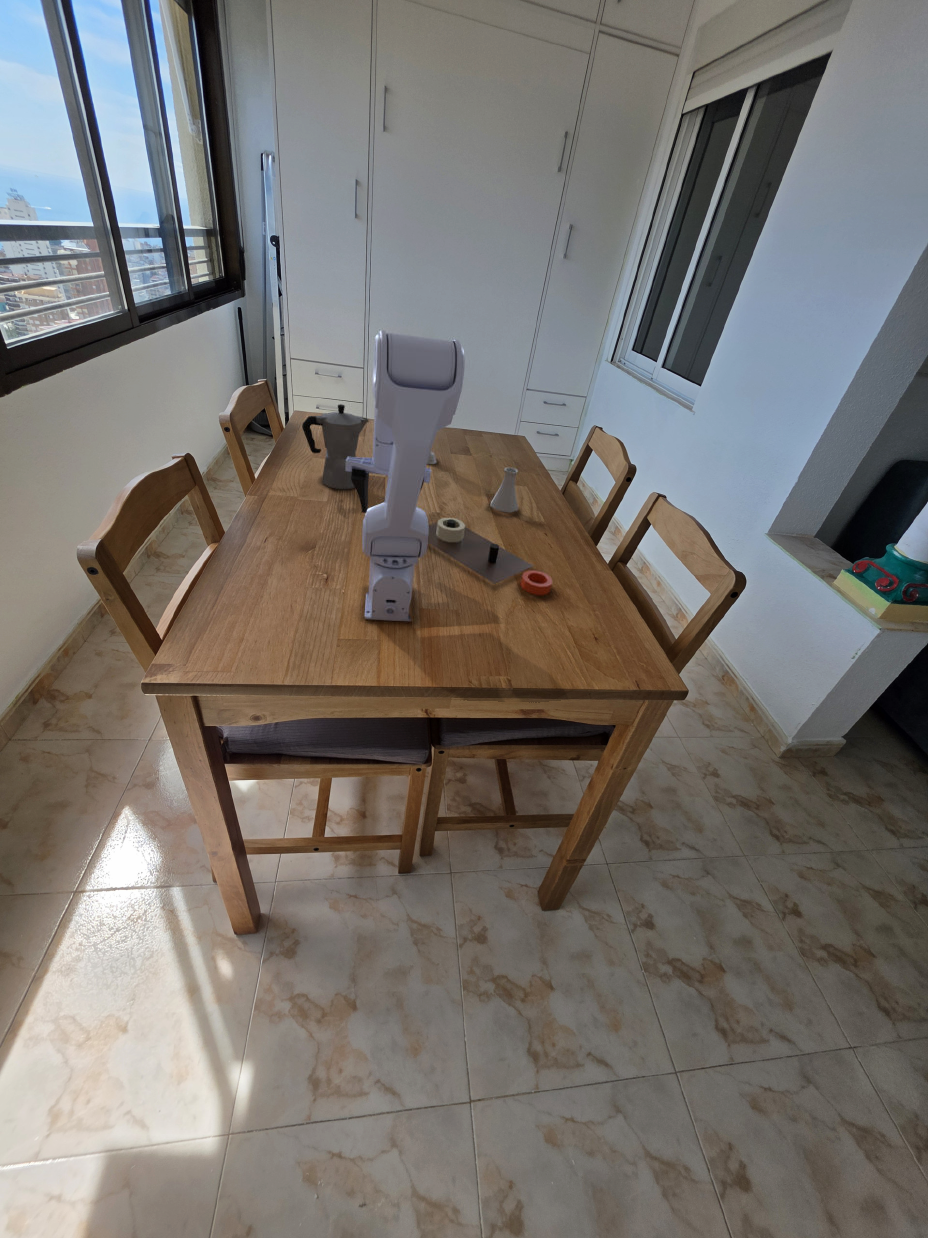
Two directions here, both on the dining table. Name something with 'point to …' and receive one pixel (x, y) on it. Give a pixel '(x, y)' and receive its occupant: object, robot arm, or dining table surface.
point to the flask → (506, 493)
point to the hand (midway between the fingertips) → (385, 513)
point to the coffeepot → (336, 444)
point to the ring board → (479, 554)
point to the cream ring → (450, 530)
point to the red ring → (535, 587)
